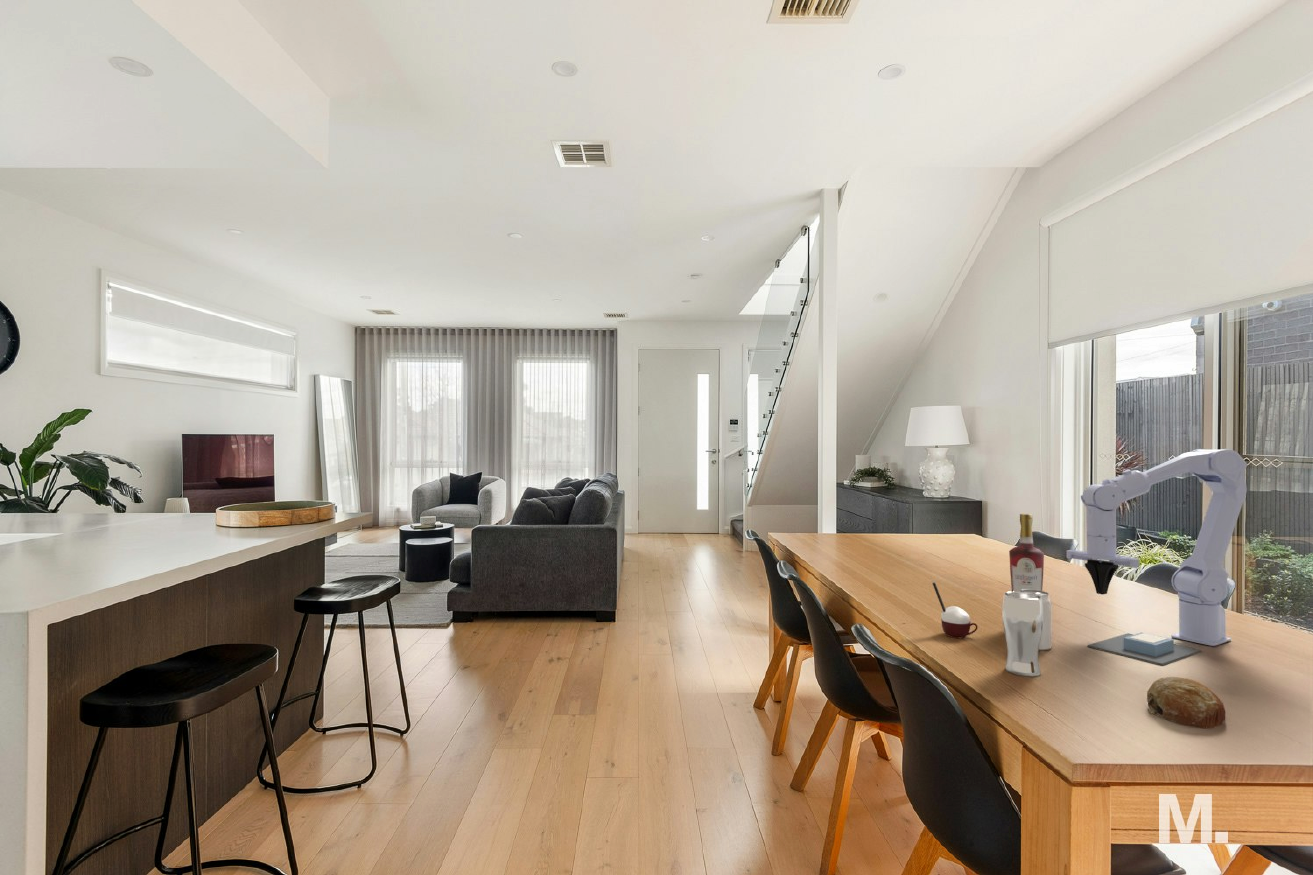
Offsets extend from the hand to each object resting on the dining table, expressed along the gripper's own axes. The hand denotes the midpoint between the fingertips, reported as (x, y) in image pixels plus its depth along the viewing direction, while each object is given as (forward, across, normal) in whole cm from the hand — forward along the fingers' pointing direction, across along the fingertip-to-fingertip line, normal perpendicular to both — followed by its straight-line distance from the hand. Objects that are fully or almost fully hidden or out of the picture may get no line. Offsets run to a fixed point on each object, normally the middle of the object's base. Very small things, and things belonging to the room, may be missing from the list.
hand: (1101, 593), depth 149 cm
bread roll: (+10, +29, -37) cm, 49 cm away
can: (+10, -4, -22) cm, 24 cm away
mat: (+10, +10, -3) cm, 14 cm away
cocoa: (+10, -18, -30) cm, 36 cm away
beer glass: (+10, +4, -40) cm, 41 cm away
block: (+8, +8, -4) cm, 12 cm away
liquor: (+10, -12, -11) cm, 19 cm away
